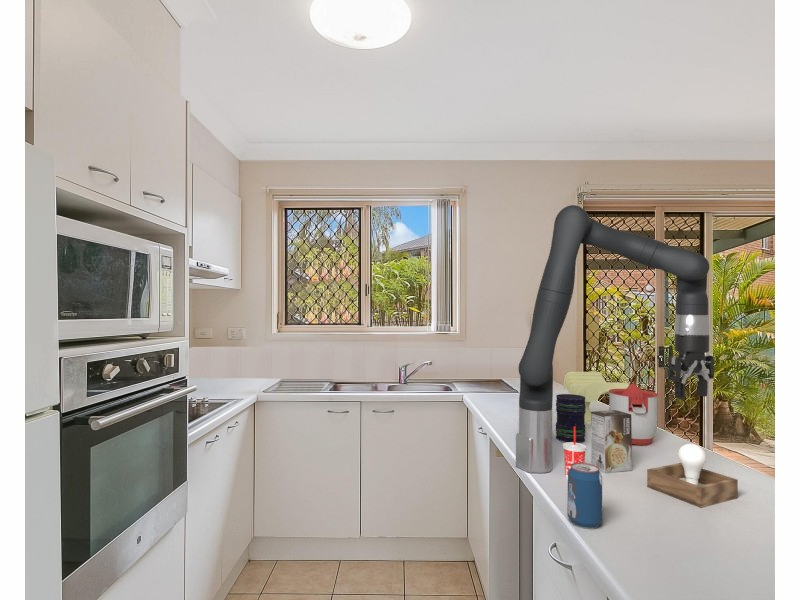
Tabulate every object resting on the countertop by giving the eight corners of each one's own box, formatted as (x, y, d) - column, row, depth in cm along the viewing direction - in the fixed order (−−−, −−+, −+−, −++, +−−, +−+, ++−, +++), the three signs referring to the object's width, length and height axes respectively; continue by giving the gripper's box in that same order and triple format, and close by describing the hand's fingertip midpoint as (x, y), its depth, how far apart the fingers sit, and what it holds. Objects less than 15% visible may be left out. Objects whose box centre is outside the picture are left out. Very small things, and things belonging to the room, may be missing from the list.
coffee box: (616, 463, 142) (617, 409, 142) (632, 471, 136) (632, 414, 136) (590, 466, 140) (590, 411, 140) (605, 473, 134) (605, 415, 134)
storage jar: (581, 436, 173) (581, 394, 173) (589, 443, 163) (589, 399, 163) (552, 435, 174) (553, 393, 174) (559, 442, 164) (559, 398, 164)
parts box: (700, 507, 111) (700, 488, 111) (647, 486, 124) (647, 469, 124) (737, 498, 117) (737, 479, 117) (682, 479, 130) (682, 462, 130)
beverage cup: (588, 477, 130) (588, 425, 131) (584, 484, 125) (584, 430, 125) (565, 473, 134) (565, 422, 134) (560, 480, 128) (560, 427, 128)
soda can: (606, 522, 103) (607, 466, 103) (595, 533, 98) (595, 474, 98) (575, 513, 108) (575, 459, 108) (562, 523, 102) (562, 466, 103)
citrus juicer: (614, 447, 159) (614, 386, 160) (604, 433, 176) (605, 379, 176) (665, 450, 156) (666, 389, 156) (651, 436, 172) (651, 381, 173)
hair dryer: (563, 411, 213) (563, 371, 214) (600, 412, 212) (600, 372, 213) (585, 428, 183) (585, 381, 184) (628, 429, 182) (628, 382, 183)
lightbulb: (680, 481, 125) (680, 439, 125) (708, 487, 121) (708, 443, 121) (676, 488, 120) (676, 444, 121) (704, 494, 117) (704, 449, 117)
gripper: (695, 331, 127) (695, 392, 127) (658, 332, 121) (658, 396, 121) (724, 333, 121) (724, 398, 120) (687, 334, 115) (687, 402, 114)
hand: (691, 397), depth 121 cm, fingers open, 8 cm apart
